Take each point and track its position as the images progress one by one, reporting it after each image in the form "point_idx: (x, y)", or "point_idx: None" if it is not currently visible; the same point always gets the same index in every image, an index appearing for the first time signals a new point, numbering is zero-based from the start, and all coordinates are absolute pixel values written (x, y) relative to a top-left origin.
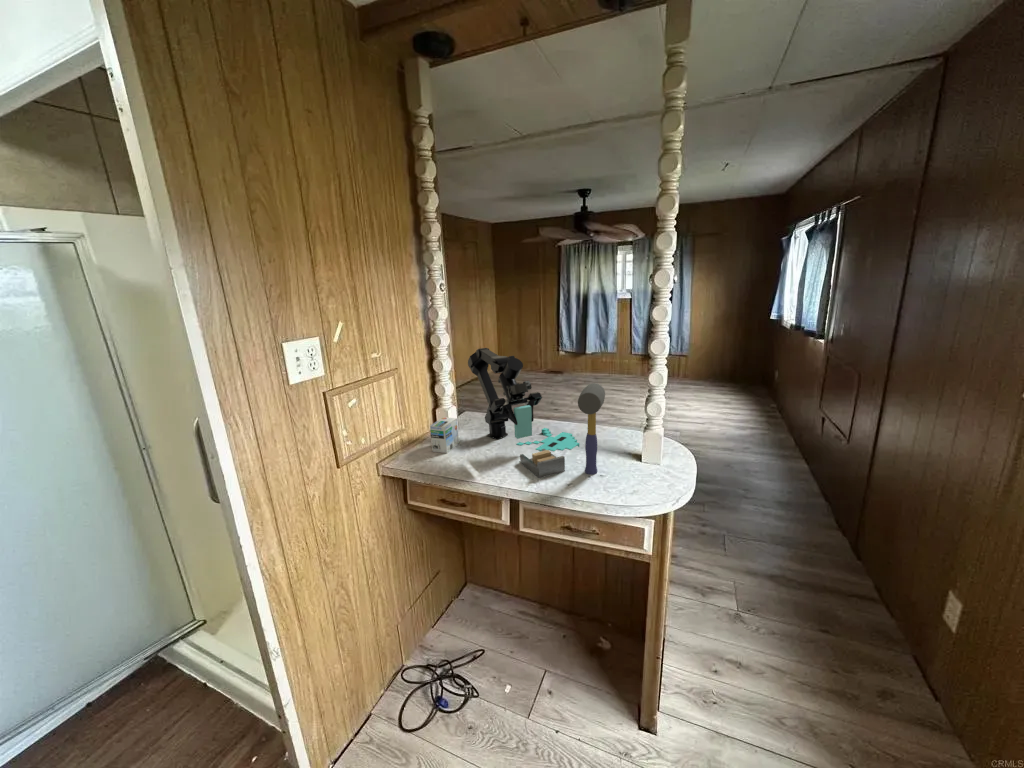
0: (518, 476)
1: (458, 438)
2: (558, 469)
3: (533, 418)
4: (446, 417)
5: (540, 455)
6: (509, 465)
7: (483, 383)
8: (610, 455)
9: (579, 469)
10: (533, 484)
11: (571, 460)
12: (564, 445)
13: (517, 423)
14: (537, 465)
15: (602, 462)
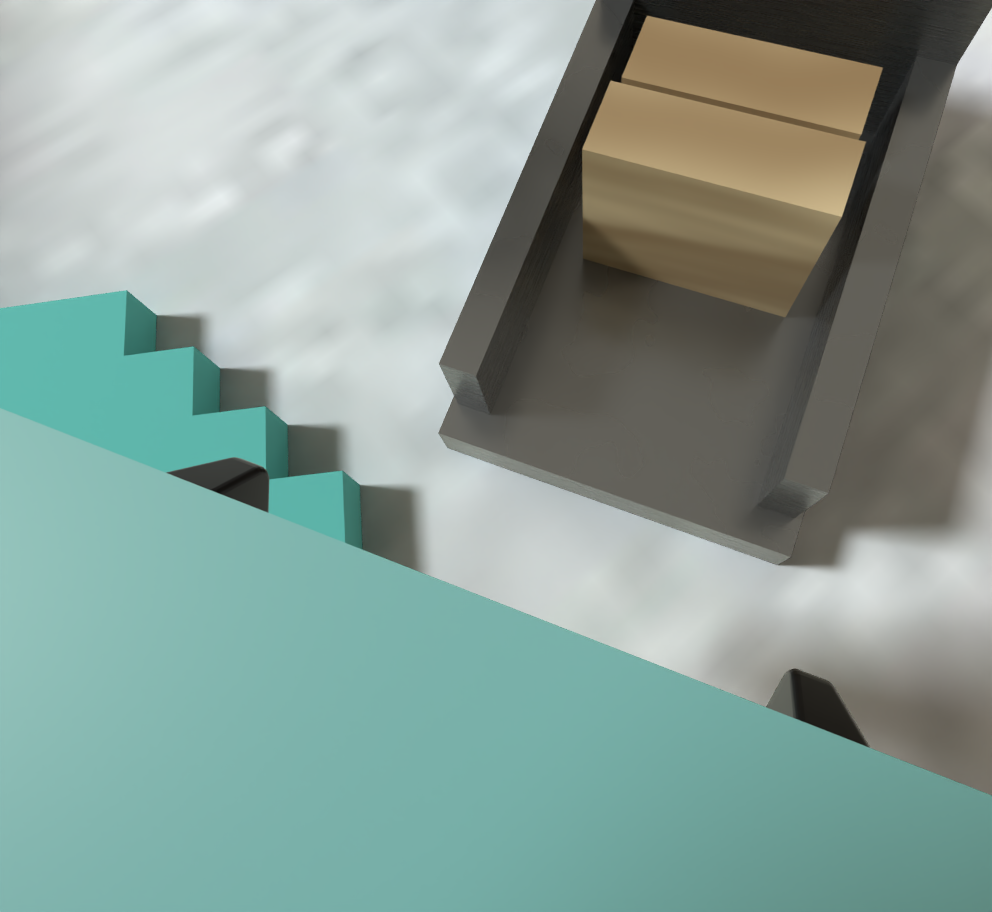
0: (973, 381)
1: None
2: None
3: (189, 468)
4: None
5: (772, 131)
6: (859, 664)
7: None
8: (17, 36)
9: (423, 59)
10: (970, 162)
11: (299, 215)
12: (70, 404)
13: (795, 672)
14: (976, 31)
15: (184, 7)
